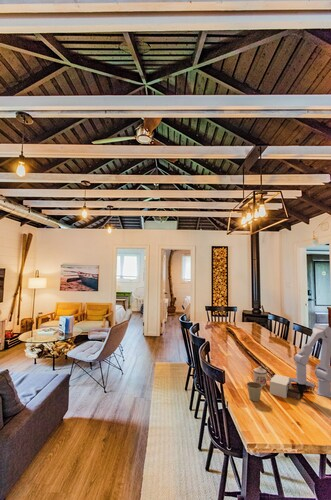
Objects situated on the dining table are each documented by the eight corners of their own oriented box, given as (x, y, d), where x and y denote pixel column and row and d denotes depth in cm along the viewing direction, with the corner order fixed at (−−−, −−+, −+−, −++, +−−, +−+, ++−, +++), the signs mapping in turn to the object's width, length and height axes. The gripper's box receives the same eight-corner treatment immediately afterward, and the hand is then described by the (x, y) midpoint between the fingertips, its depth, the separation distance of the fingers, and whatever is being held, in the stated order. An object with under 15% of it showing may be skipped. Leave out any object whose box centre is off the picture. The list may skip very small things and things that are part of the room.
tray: (279, 389, 180) (278, 385, 180) (301, 395, 171) (301, 391, 171) (275, 394, 171) (275, 391, 172) (298, 401, 163) (298, 397, 163)
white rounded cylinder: (283, 389, 177) (283, 383, 178) (288, 391, 175) (288, 385, 175) (281, 391, 175) (281, 385, 175) (287, 392, 172) (287, 387, 173)
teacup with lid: (255, 386, 182) (255, 369, 182) (251, 380, 191) (251, 364, 191) (273, 386, 181) (272, 369, 182) (268, 381, 190) (268, 364, 191)
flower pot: (243, 397, 166) (243, 383, 166) (255, 394, 169) (255, 380, 170) (253, 404, 157) (253, 389, 158) (265, 401, 161) (265, 386, 161)
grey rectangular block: (275, 385, 183) (275, 374, 183) (291, 390, 177) (291, 377, 177) (269, 393, 171) (269, 381, 171) (286, 398, 165) (286, 385, 166)
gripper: (287, 372, 169) (287, 394, 168) (313, 378, 160) (313, 401, 159) (289, 369, 174) (290, 390, 173) (314, 375, 166) (315, 397, 165)
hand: (301, 395), depth 167 cm, fingers closed
